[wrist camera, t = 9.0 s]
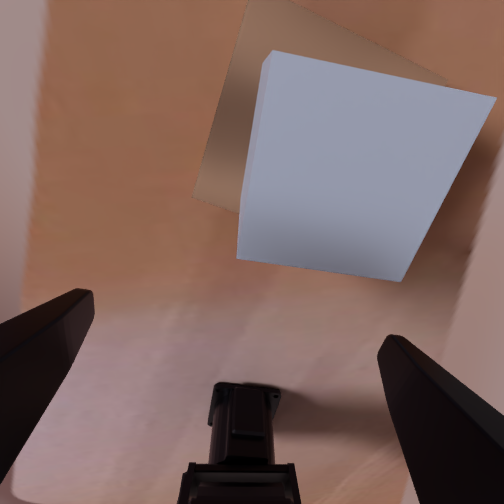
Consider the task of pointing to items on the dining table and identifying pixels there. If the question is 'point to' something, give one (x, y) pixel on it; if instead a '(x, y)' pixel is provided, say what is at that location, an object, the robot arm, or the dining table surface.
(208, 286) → the dining table surface
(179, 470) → the dining table surface
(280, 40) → the tan flat square block
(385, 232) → the slate cube
